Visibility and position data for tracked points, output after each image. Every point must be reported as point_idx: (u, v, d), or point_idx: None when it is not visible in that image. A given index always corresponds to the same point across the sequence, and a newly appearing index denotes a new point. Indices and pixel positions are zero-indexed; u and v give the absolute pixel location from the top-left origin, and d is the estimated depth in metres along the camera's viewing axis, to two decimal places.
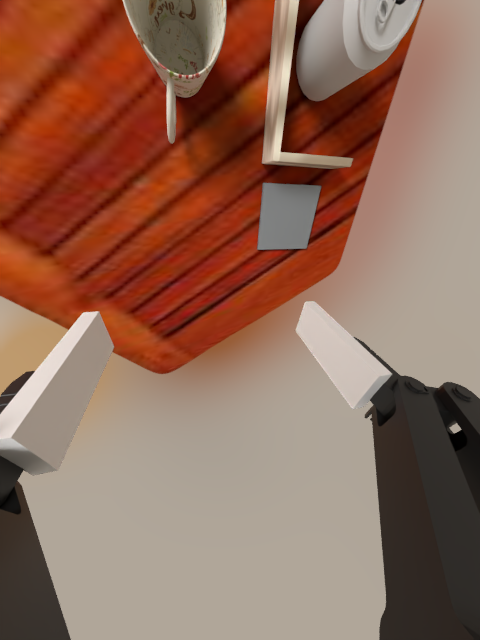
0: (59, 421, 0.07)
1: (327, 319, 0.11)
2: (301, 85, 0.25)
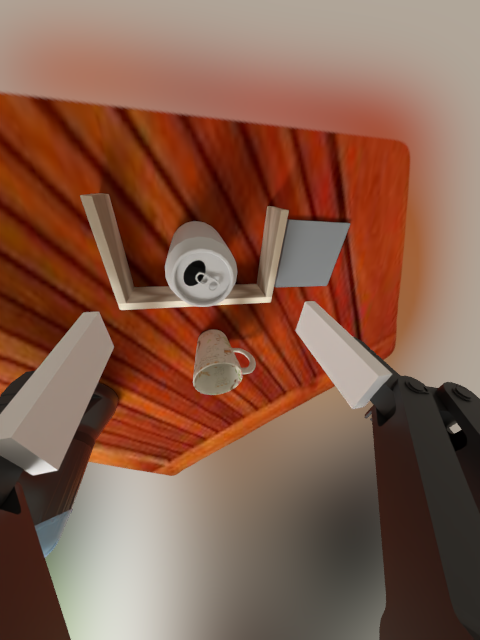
0: (59, 421, 0.07)
1: (327, 319, 0.11)
2: None
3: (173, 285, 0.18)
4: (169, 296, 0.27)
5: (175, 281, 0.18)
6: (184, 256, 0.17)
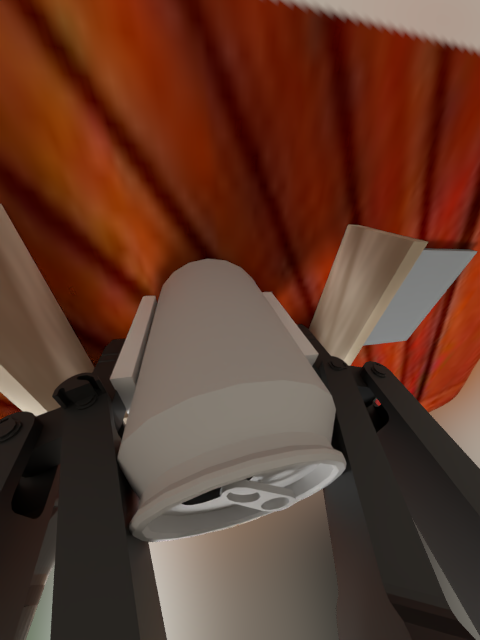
0: None
1: (277, 307, 0.12)
2: None
3: (144, 539, 0.05)
4: None
5: (151, 521, 0.05)
6: (183, 501, 0.04)
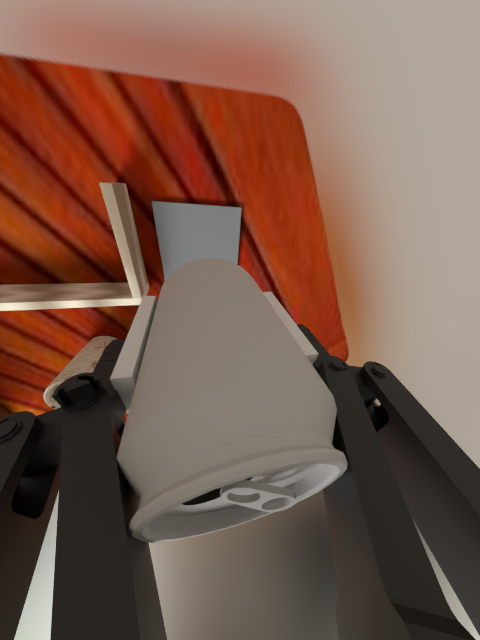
0: None
1: (277, 307, 0.12)
2: None
3: (143, 540, 0.05)
4: None
5: (151, 521, 0.05)
6: (183, 501, 0.04)
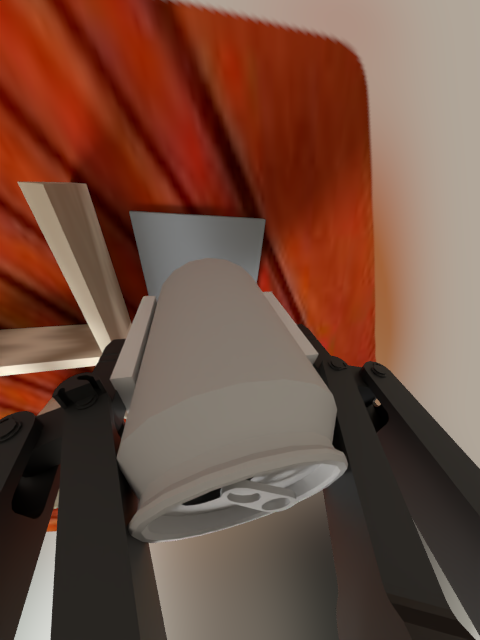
0: None
1: (277, 307, 0.12)
2: None
3: (143, 540, 0.05)
4: None
5: (151, 521, 0.05)
6: (183, 502, 0.04)
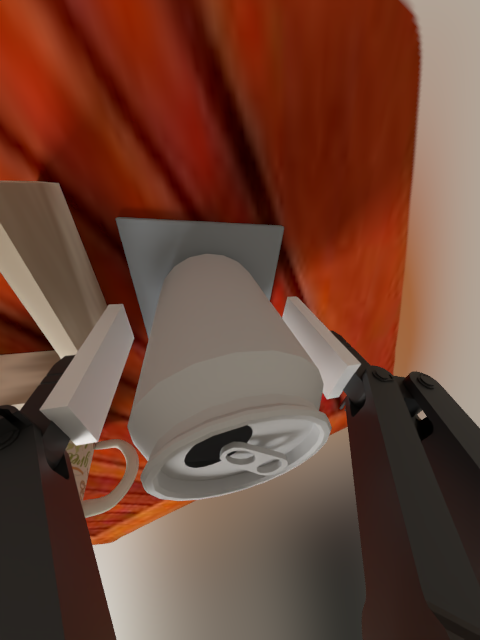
0: (97, 398, 0.08)
1: (306, 313, 0.12)
2: None
3: (153, 494, 0.06)
4: None
5: (159, 478, 0.06)
6: (188, 446, 0.04)
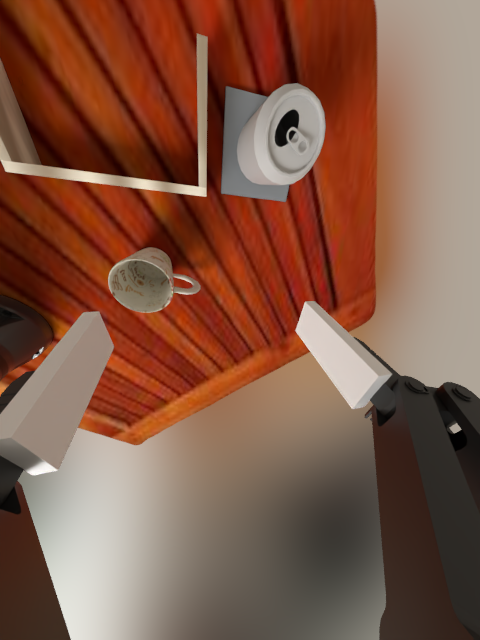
0: (59, 421, 0.07)
1: (327, 319, 0.11)
2: None
3: (266, 137, 0.17)
4: None
5: (267, 134, 0.18)
6: (286, 96, 0.16)
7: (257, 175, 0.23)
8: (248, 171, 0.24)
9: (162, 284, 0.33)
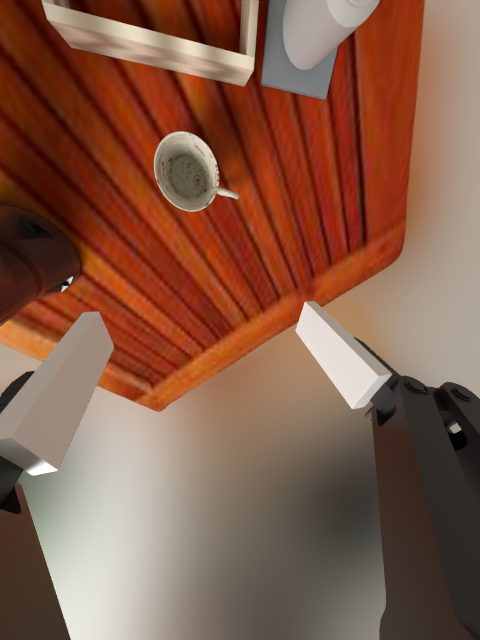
0: (59, 421, 0.07)
1: (327, 319, 0.11)
2: (321, 60, 0.27)
3: None
4: None
5: None
6: None
7: (314, 27, 0.21)
8: (299, 36, 0.23)
9: (198, 197, 0.32)
